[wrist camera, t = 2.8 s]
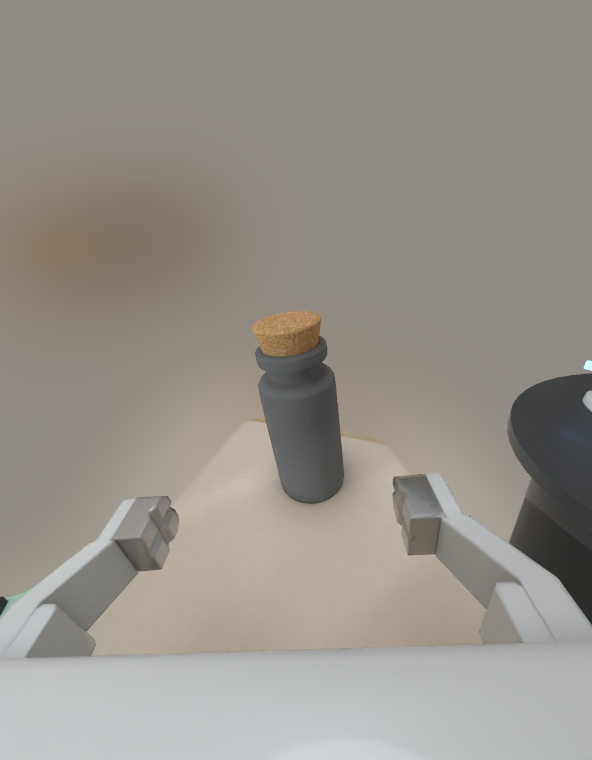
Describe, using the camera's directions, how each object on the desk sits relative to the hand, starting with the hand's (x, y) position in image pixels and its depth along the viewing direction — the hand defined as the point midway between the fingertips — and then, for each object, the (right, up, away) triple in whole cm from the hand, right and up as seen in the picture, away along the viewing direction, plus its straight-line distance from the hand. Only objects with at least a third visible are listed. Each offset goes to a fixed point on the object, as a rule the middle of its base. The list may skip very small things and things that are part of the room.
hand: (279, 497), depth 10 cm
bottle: (+2, -5, +16) cm, 17 cm away
